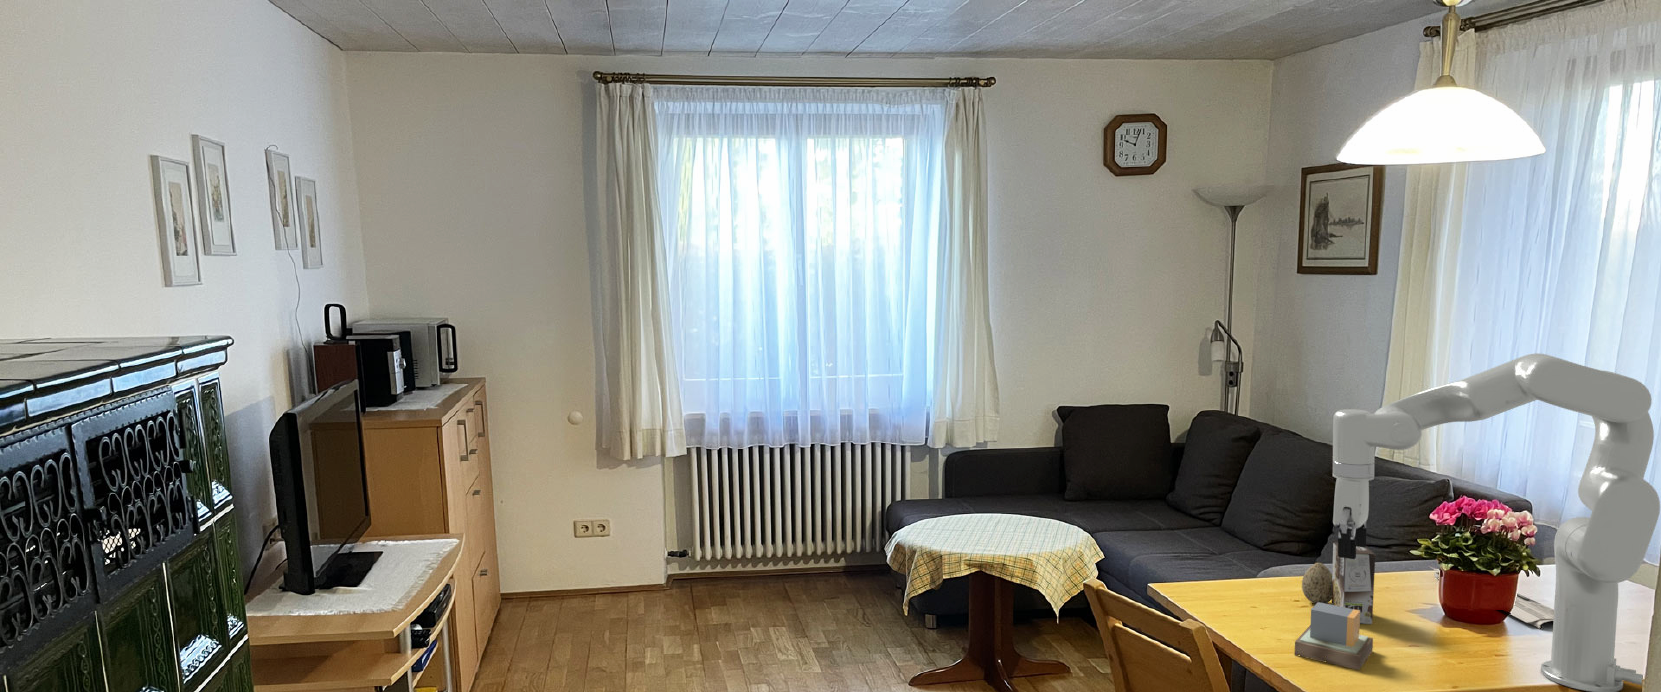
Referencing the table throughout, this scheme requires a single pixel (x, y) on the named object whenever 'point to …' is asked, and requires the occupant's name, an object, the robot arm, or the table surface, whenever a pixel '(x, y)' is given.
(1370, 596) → the coffee box
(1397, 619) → the table surface
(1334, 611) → the block
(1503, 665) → the table surface
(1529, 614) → the newspaper
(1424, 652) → the table surface
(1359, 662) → the stand
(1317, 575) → the decorative egg
